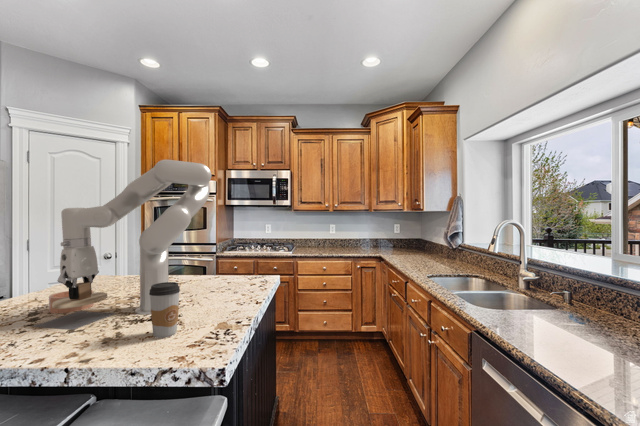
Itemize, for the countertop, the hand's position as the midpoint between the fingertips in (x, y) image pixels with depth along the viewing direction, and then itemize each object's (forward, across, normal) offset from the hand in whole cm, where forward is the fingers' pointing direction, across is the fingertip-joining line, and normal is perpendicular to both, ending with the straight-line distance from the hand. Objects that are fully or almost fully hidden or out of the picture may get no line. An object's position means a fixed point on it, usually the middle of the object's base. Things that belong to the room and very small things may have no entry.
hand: (80, 296), depth 105 cm
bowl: (+8, +10, +16) cm, 21 cm away
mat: (+8, -1, +1) cm, 8 cm away
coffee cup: (+10, -6, -37) cm, 39 cm away
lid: (+2, 0, 0) cm, 2 cm away
